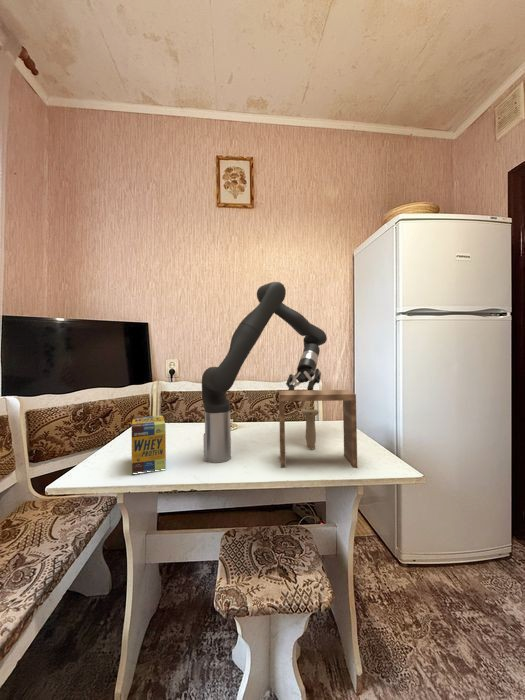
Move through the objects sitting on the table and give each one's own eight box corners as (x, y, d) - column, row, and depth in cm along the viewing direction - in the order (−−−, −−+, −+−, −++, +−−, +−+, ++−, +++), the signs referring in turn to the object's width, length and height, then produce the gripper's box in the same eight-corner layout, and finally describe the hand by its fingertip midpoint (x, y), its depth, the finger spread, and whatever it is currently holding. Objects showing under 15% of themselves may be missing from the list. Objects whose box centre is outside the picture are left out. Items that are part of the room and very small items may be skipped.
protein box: (131, 476, 93) (131, 426, 94) (133, 460, 108) (132, 417, 108) (166, 470, 97) (165, 423, 97) (163, 456, 112) (162, 414, 112)
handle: (319, 450, 115) (318, 411, 115) (302, 450, 115) (302, 411, 115) (318, 446, 119) (317, 409, 120) (302, 446, 120) (301, 409, 120)
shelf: (280, 467, 98) (279, 395, 98) (280, 455, 110) (278, 390, 110) (357, 467, 97) (355, 394, 97) (348, 455, 109) (346, 389, 109)
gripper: (289, 360, 129) (279, 388, 118) (319, 353, 121) (311, 383, 110) (297, 372, 132) (288, 400, 121) (326, 366, 124) (320, 396, 113)
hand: (299, 392), depth 115 cm, fingers open, 8 cm apart
